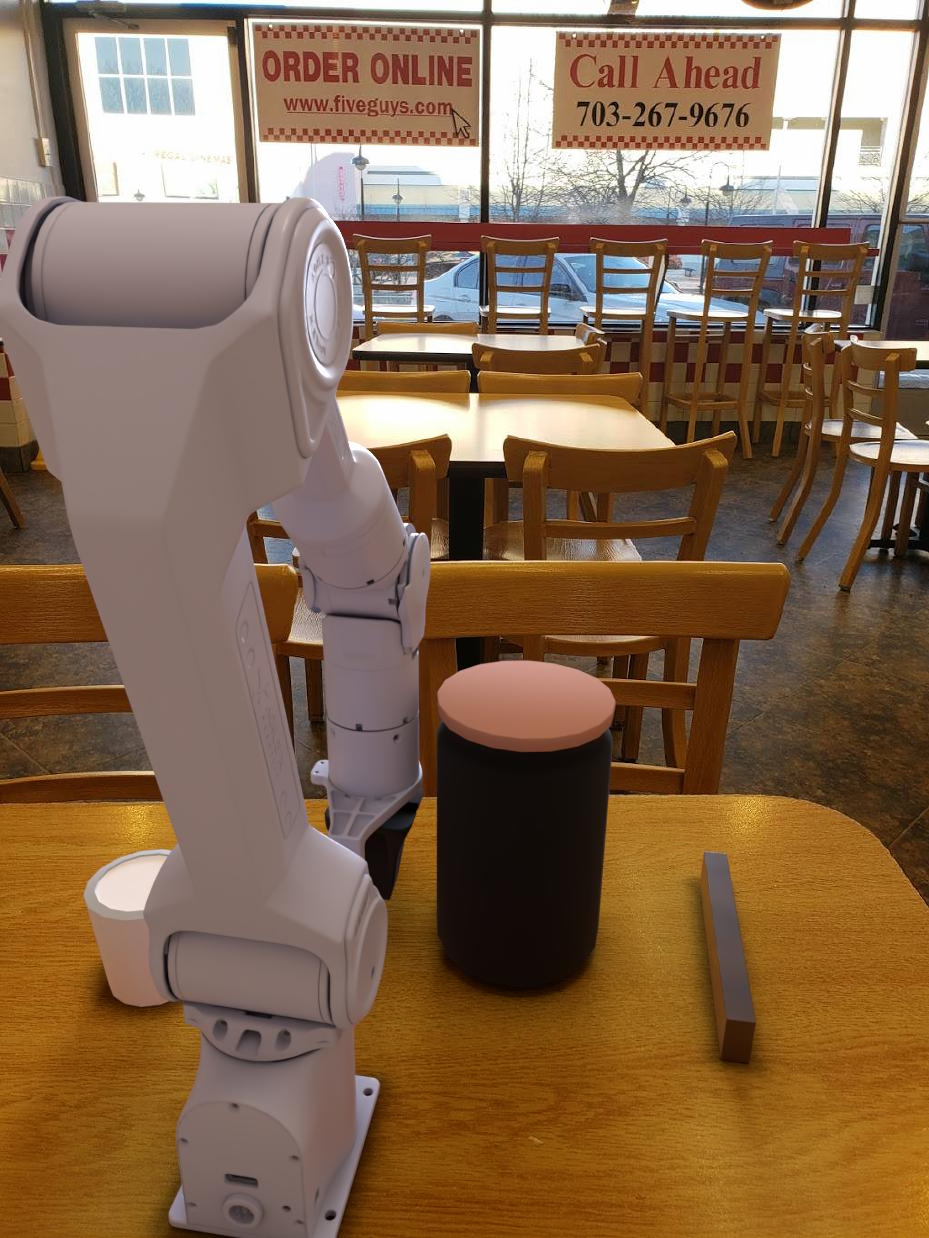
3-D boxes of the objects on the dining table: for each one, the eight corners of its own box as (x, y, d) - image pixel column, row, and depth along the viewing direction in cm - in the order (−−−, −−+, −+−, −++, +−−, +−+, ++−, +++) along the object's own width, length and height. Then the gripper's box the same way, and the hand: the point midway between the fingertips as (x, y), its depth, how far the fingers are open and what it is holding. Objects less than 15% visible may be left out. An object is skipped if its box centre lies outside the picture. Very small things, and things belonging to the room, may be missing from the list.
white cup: (195, 1015, 56) (183, 920, 53) (80, 1012, 56) (63, 917, 53) (224, 937, 62) (216, 848, 60) (122, 935, 62) (108, 846, 60)
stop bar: (749, 1063, 53) (756, 1022, 52) (720, 1059, 53) (726, 1018, 52) (722, 888, 68) (726, 853, 67) (699, 885, 68) (703, 850, 67)
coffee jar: (594, 894, 67) (612, 663, 60) (599, 1005, 57) (621, 743, 50) (445, 883, 68) (447, 655, 61) (425, 991, 58) (424, 732, 51)
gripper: (341, 658, 65) (348, 825, 70) (269, 763, 52) (283, 960, 57) (442, 666, 64) (441, 835, 69) (395, 774, 51) (398, 974, 56)
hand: (377, 892), depth 63 cm, fingers closed
